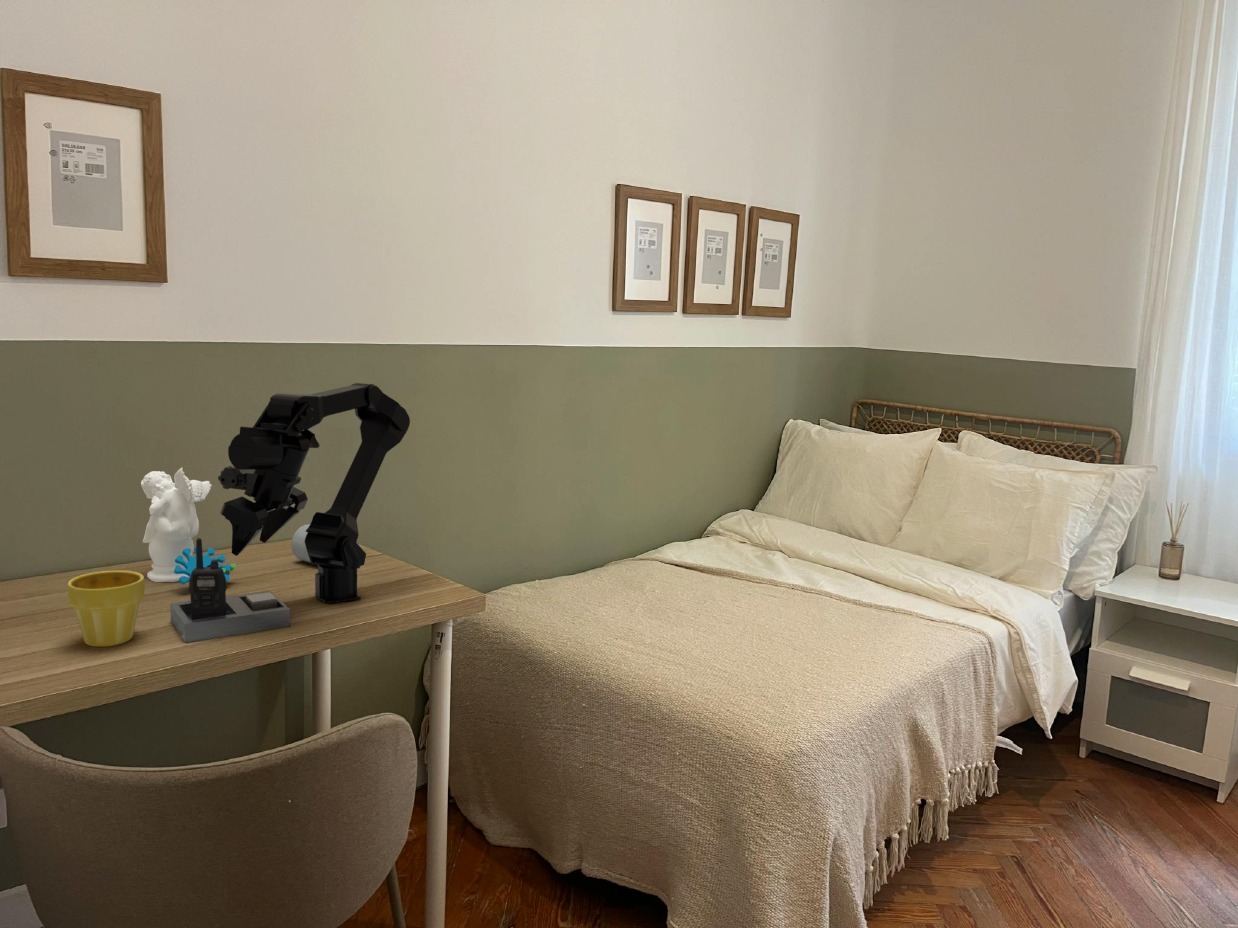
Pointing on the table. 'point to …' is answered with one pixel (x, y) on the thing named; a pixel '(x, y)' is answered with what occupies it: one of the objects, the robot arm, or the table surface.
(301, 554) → the ceramic mug
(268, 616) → the grey charging dock
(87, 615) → the plant pot
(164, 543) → the cherub figurine
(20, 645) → the table surface
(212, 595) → the two-way radio
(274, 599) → the steel block
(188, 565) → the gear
